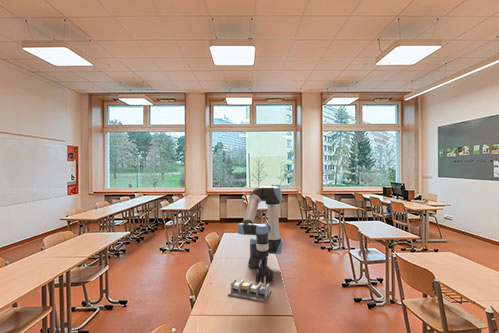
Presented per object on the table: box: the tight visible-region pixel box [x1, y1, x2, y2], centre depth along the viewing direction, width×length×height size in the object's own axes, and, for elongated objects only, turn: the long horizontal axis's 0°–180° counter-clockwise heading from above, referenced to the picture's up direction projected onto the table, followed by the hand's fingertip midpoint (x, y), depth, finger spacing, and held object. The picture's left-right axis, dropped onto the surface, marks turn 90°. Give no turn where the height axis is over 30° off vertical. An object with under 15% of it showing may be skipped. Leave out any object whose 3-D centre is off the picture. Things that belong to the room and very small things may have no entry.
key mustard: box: [241, 281, 250, 289], centre depth 165 cm, size 4×4×2 cm
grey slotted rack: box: [227, 277, 272, 303], centre depth 164 cm, size 14×24×6 cm, turn 68°
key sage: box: [250, 284, 257, 292], centre depth 163 cm, size 4×4×2 cm
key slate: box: [259, 287, 265, 294], centre depth 161 cm, size 4×4×2 cm
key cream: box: [233, 281, 240, 289], centre depth 167 cm, size 4×4×2 cm
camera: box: [254, 265, 275, 283], centre depth 182 cm, size 13×10×10 cm
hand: (263, 286), depth 161 cm, fingers closed
